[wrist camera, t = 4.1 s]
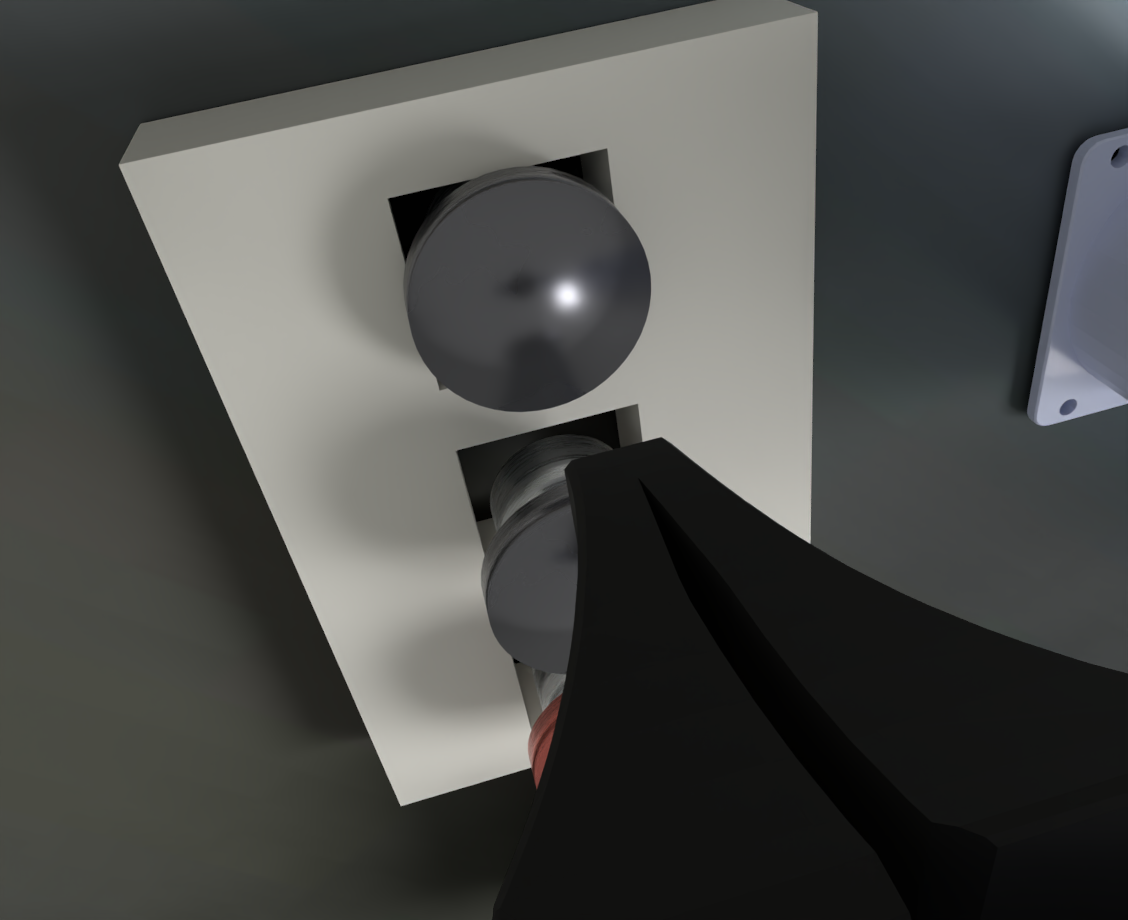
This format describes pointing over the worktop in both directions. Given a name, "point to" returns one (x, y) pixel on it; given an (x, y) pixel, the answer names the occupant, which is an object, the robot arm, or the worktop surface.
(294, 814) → the worktop surface
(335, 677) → the worktop surface
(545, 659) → the grey plunger middle
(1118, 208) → the robot arm
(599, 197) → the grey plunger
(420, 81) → the block
